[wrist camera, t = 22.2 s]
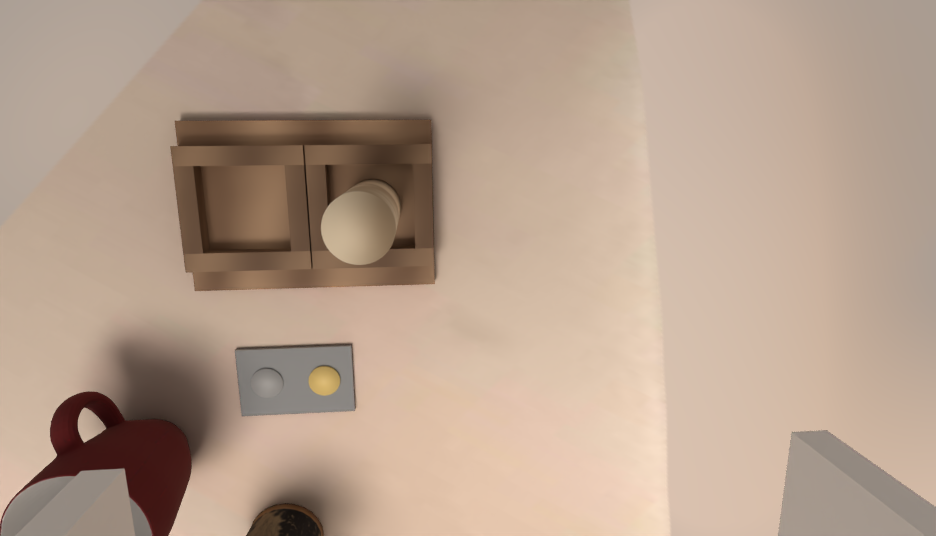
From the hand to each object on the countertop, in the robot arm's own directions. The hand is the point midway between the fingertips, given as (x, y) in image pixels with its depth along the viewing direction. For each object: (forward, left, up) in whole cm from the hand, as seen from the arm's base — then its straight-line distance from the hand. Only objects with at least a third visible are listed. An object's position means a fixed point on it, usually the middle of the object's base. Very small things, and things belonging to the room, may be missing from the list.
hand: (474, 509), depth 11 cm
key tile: (-10, -10, -29) cm, 32 cm away
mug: (-21, -13, -29) cm, 38 cm away
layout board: (-8, +3, -29) cm, 30 cm away
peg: (-4, +3, -28) cm, 28 cm away
